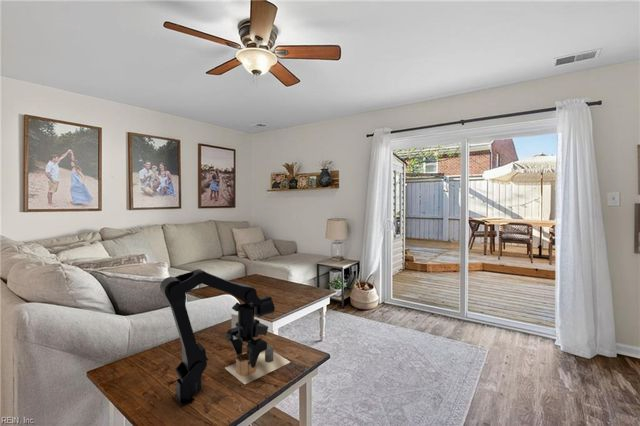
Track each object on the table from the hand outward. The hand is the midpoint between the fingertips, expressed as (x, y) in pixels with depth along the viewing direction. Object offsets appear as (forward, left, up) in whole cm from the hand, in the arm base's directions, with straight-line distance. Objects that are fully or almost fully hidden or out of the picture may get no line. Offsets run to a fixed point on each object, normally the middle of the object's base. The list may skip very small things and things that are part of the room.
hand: (246, 362), depth 108 cm
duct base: (+5, 0, -4) cm, 7 cm away
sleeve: (0, 0, -3) cm, 3 cm away
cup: (+14, +28, -5) cm, 32 cm away
